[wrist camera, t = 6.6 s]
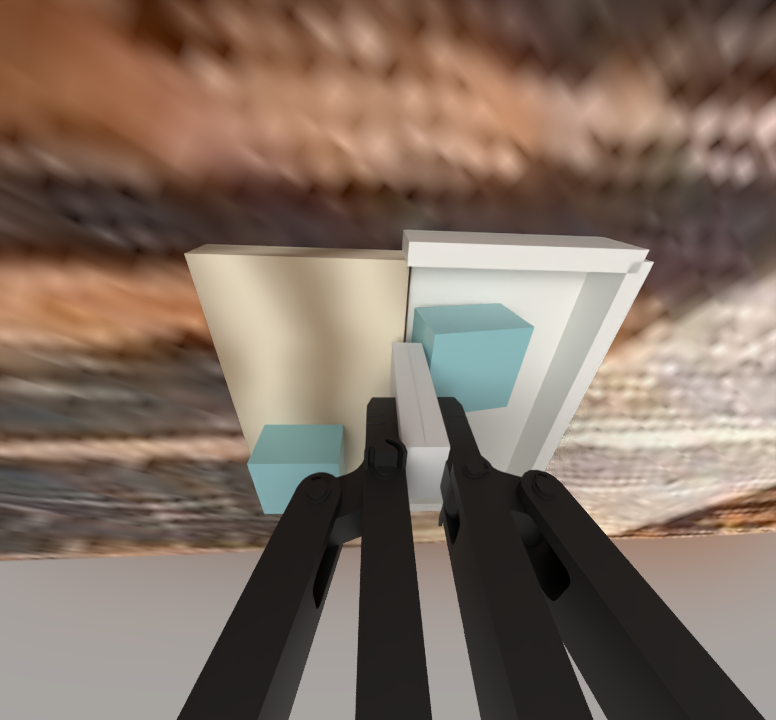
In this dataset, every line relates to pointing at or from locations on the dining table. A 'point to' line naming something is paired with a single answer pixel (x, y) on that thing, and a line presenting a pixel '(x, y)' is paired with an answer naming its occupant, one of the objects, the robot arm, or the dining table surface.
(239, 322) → the board
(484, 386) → the tile
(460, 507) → the robot arm
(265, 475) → the tile
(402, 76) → the dining table surface
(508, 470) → the tray
